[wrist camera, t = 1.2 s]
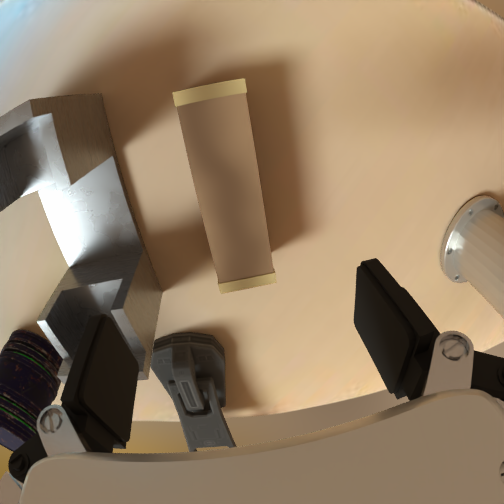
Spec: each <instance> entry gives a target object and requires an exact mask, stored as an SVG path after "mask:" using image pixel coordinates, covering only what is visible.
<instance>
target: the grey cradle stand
mask: <svg viewBox="0 0 504 504" xmlns="http://www.w3.org/2000/svg"><path fill="white" fill-rule="evenodd" d="M36 190H38V192H39V195H40V198H41V201H42V204H43V206H44V209H45V212H46V214H47V217H48V219H49V222H50V224H51V227H52V229H53V232H54V234H55V236H56V239H57V241H58V243H59V246H60V248H61V250H62V252H63V255H64V257H65V259H66V261H67V263H68V265H69V269H68V270H67V272H66V273H65V275H64V276H63V278H62V280H61V281H60V283H59V284H58V286H57V288H56V289H55V291H54V292H53V294H52V296H51V297H50V299H49V301H48V302H47V304H46V306H45V308H44V309H43V311H42V313H41V315H40V316H39V318H38V320H37V323H38V324H39V326H40V327H41V329H42V330H43V332H44V333H45V335H46V336H47V338H48V339H49V340H50V342H51V343H52V345H53V346H54V347H55V349H56V350H57V351H58V353H59V354H60V356H61V357H62V358H63V361H62V364H61V366H60V369H59V372H58V375H57V377H58V378H59V379H60V380H61V382H62V383H66V380H67V377H68V374H69V371H70V368H71V366H72V363H73V360H74V357H75V354H76V352H77V349H78V346H79V344H80V341H81V338H82V336H83V333H84V331H85V328H86V326H87V323H88V321H89V318H90V317H91V316H93V315H99V314H105V315H107V317H110V318H111V319H112V320H113V322H114V324H115V326H116V327H117V329H118V331H119V332H120V334H121V336H122V338H123V339H124V341H125V342H126V344H127V346H128V347H129V349H130V351H131V352H132V354H133V355H134V357H135V358H136V360H137V362H138V364H139V374H138V380H147V379H148V377H149V370H150V363H151V356H152V350H153V343H154V337H155V331H156V325H157V319H158V314H159V308H160V303H161V298H162V290H161V288H160V285H159V283H158V280H157V278H156V275H155V272H154V270H153V267H152V265H151V262H150V259H149V257H148V254H147V251H146V248H145V246H144V243H143V240H142V237H141V234H140V231H139V228H138V225H137V223H136V220H135V217H134V213H133V210H132V207H131V204H130V201H129V198H128V195H127V191H126V188H125V185H124V181H123V178H122V175H121V171H120V168H119V164H118V160H117V157H116V153H115V149H114V146H113V142H112V138H111V134H110V130H109V126H108V122H107V117H106V113H105V109H104V104H103V99H102V95H101V94H82V95H67V96H56V97H46V98H38V99H30V100H28V101H26V102H24V103H23V104H21V105H19V106H17V107H16V108H14V109H12V110H11V111H9V112H8V113H6V114H4V115H3V116H1V117H0V212H1V211H2V210H4V209H5V208H6V207H8V206H9V205H10V204H12V203H13V202H14V201H16V200H17V199H18V198H20V197H22V196H24V195H27V194H29V193H31V192H34V191H36Z"/></svg>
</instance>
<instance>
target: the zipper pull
mask: <svg viewBox="0 0 504 504" xmlns="http://www.w3.org/2000/svg"><path fill="white" fill-rule="evenodd" d="M150 367H151V369H152V370H153V372H154V373H155V375H156V376H157V377H158V379H159V380H160V382H161V383H162V385H163V386H164V388H165V389H166V391H167V392H168V394H169V395H170V396H171V398H172V399H173V402H174V405H175V407H176V410H177V413H178V415H179V418H180V421H181V425H182V428H183V432H184V435H185V438H186V442H187V444H188V448H189V452H195V451H197V450H196V448H202V447H217V446H228V447H229V448H233V447H236V445H235V442H234V440H233V438H232V435H231V433H230V431H229V428H228V426H227V423H226V421H225V418H224V416H223V413H222V411H221V408H222V407H225V406H226V396H225V357H224V348H223V347H222V346H221V345H220V344H219V343H218V342H217V340H216V339H215V338H214V337H213V336H212V335H206V334H198V333H191V332H188V333H176V334H171V335H168V336H165V337H162V338H159V339H156V340H155V341H154V346H153V352H152V358H151V365H150Z"/></svg>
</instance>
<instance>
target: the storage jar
mask: <svg viewBox="0 0 504 504" xmlns="http://www.w3.org/2000/svg"><path fill="white" fill-rule="evenodd" d="M62 361H63V358H62V357H61V356H60V354H59V353H58V351H57V350H56V349H55V347H54V346H53V345H52V344H51V343H49V342H48V341H47V340H45V339H44V338H42V337H41V336H39V335H37V334H35V333H33V332H30V331H26V330H16V331H14V332H13V333H12V334H11V336H10V338H9V340H8V342H7V343H6V344H5V345H4V347H3V349H2V351H1V353H0V445H2V446H4V447H5V448H7V449H9V450H11V451H13V452H14V451H15V450H16V449H18V448H19V447H20V446H21V445H22V444H24V443H25V442H26V441H27V440H29V439H30V438H31V437H32V436H34V435H35V434H36V433H37V432H38V430H37V419H38V417H39V415H40V413H41V412H42V411H43V410H44V409H45V408H46V407H48V406H50V405H51V403H52V401H54V400H55V398H56V396H57V391H58V389H59V386H60V383H61V380H60V379H59V378H58V377H57V375H58V372H59V369H60V366H61V364H62Z"/></svg>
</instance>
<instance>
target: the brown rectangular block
mask: <svg viewBox="0 0 504 504" xmlns="http://www.w3.org/2000/svg"><path fill="white" fill-rule="evenodd" d="M246 93H247V88H246V83H245V78H242V79H236V80H230V81H224V82H219V83H213V84H208V85H203V86H199V87H194V88H190V89H185V90H181V91H177V92H173V93H172V94H173V99H174V104H175V107H177V110H178V114H179V119H180V124H181V129H182V133H183V138H184V142H185V147H186V151H187V156H188V160H189V165H190V169H191V173H192V177H193V182H194V186H195V190H196V194H197V198H198V203H199V207H200V211H201V215H202V219H203V223H204V227H205V231H206V235H207V239H208V243H209V246H210V250H211V254H212V258H213V262H214V265H215V269H216V273H217V277H218V286H219V289H220V293H221V294H223V293H228V292H233V291H238V290H243V289H248V288H253V287H258V286H263V285H268V284H272V283H277V282H276V275H275V271H274V268H273V264H272V257H271V250H270V243H269V236H268V230H267V223H266V216H265V210H264V203H263V197H262V190H261V184H260V177H259V171H258V165H257V159H256V152H255V146H254V140H253V134H252V128H251V122H250V116H249V110H248V104H247V99H246Z"/></svg>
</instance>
